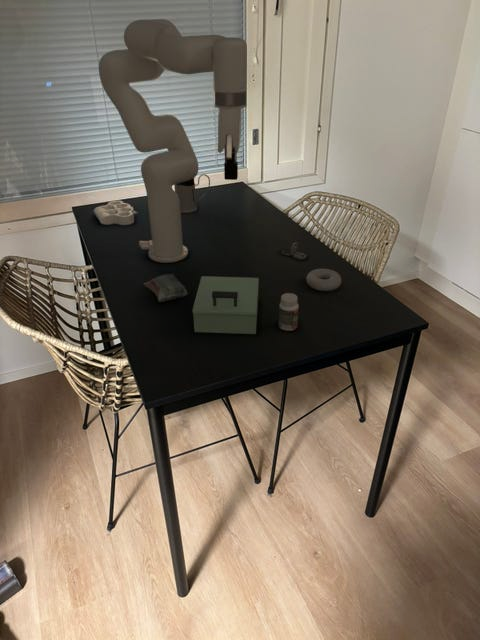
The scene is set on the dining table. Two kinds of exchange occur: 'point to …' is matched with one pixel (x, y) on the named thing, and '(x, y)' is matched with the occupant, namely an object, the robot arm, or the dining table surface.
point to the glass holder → (188, 195)
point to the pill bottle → (288, 312)
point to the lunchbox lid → (227, 295)
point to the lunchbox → (225, 323)
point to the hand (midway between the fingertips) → (231, 178)
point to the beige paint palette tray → (115, 213)
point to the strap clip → (292, 252)
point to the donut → (323, 279)
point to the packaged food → (166, 287)
